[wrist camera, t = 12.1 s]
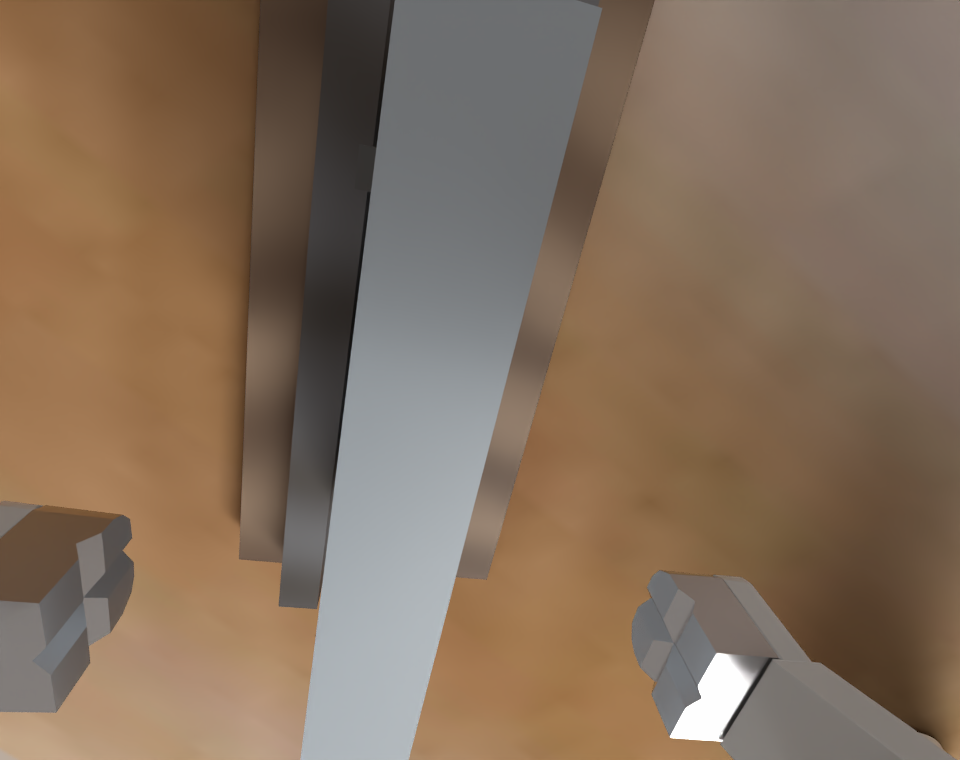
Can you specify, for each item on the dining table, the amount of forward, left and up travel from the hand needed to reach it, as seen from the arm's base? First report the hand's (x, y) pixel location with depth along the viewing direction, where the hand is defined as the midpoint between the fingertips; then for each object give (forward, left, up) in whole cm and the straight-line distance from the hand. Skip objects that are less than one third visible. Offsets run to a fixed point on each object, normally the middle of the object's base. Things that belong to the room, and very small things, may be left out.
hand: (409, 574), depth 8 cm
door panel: (0, 0, -13) cm, 13 cm away
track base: (0, 0, -15) cm, 15 cm away
